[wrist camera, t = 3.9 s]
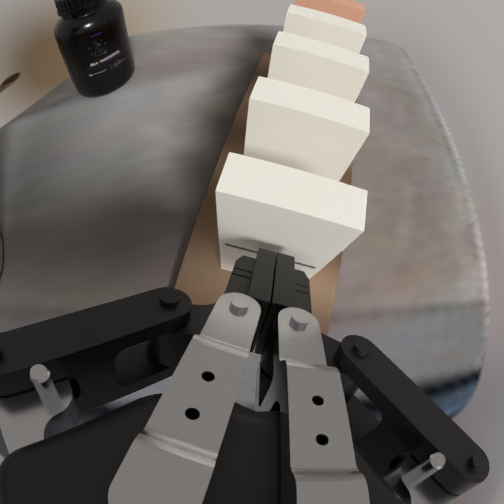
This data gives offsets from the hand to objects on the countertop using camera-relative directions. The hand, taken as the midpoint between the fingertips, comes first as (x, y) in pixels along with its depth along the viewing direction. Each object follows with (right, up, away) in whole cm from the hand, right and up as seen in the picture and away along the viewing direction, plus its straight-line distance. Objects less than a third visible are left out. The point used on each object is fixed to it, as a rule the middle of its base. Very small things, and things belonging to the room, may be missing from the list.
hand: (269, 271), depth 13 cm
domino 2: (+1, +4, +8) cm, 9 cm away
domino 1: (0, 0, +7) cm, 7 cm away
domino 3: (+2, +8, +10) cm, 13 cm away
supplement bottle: (-16, +19, +13) cm, 28 cm away
